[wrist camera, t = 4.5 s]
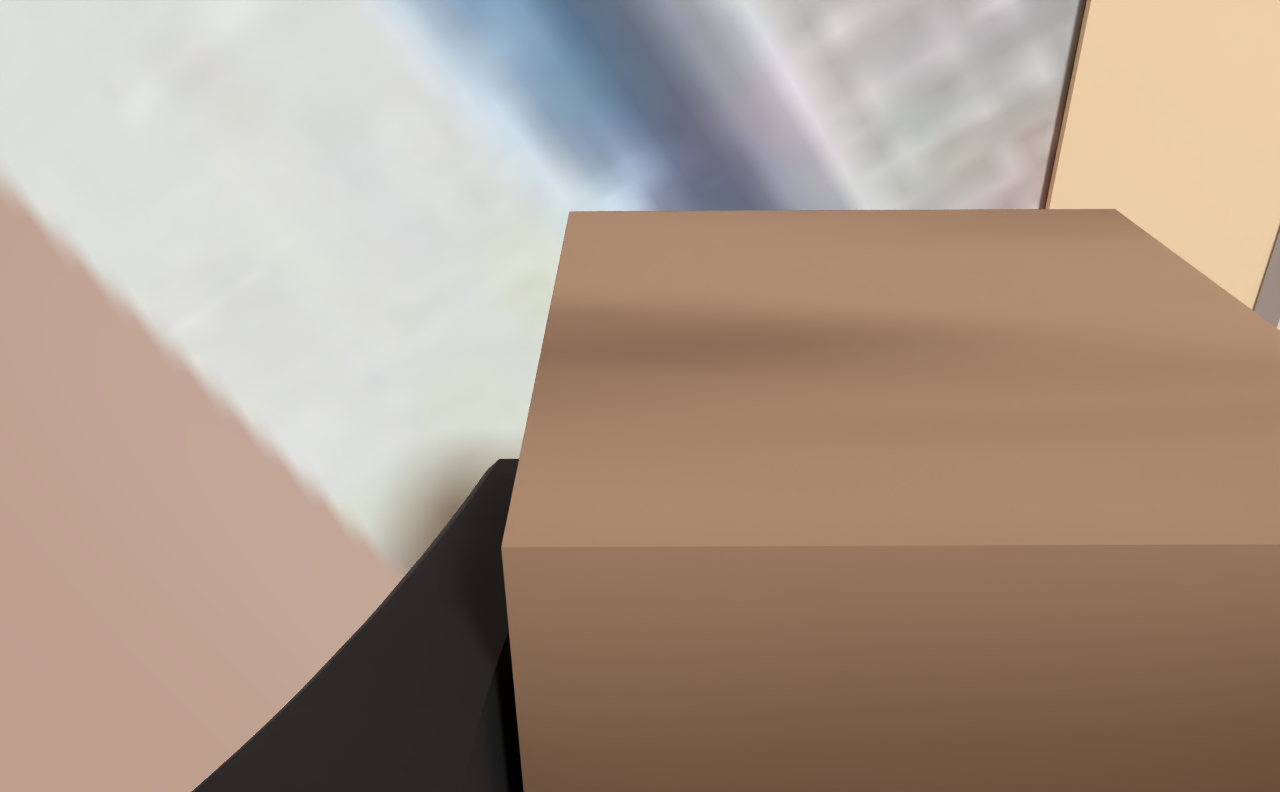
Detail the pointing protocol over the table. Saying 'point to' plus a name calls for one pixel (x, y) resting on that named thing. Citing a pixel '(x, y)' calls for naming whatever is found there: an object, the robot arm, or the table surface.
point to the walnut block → (895, 510)
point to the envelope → (1182, 133)
